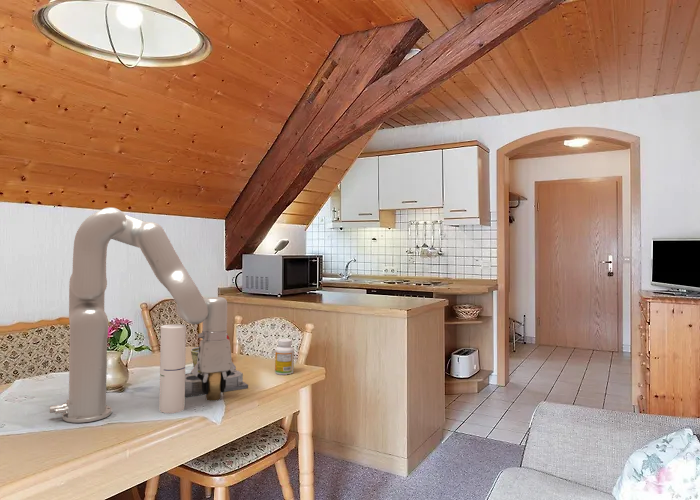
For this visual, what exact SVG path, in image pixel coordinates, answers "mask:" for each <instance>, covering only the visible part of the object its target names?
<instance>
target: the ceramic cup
mask: <svg viewBox="0 0 700 500" xmlns="http://www.w3.org/2000/svg"><path fill="white" fill-rule="evenodd" d="M198 350H199V346H198V347H194V348H191V350H190V352H191V360H192V366H193V368H194V367H195V365H196V364H197V359H198ZM198 372H201V371H200V370H198Z"/></svg>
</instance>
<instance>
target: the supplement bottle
mask: <svg viewBox="0 0 700 500" xmlns="http://www.w3.org/2000/svg"><path fill="white" fill-rule="evenodd" d="M292 341H293V340H292V339H290V338H280V339H278V341H277V345H278V346H277V347H276V348H275V352H274V353H275V356H274V357H275V359H274V362H275V363H274V372H275V374H276V375H279V376H288V375H287V374H290V375H292V374H293V373H294V368H295V367H294V363H295V361H294V359H295V358H294V357H295V356H294V355H295V348H294V347H293V346H292V344H293V342H292ZM291 373H292V374H291Z"/></svg>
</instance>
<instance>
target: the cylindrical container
mask: <svg viewBox="0 0 700 500" xmlns="http://www.w3.org/2000/svg"><path fill="white" fill-rule="evenodd" d="M186 340H187V325H185V324H181V323H180V324H179V323H172V324H164V325H160V351H159V353H160V355H159V358H160V360H159V403H158V404H159V405H158V406H159V408H158V409H159V410H160V411H161V412H160V411H159V412H160V413H162V412H164V413H163V414H176V412H177V413H180V412H183V411H184V410H185V407H186V406H185V405H186V404H185V402H186V401H185V398H186V397H185V374H186V352H187V351H186V350H187V349H186V348H187V344H186V342H187V341H186ZM182 410H183V411H182Z"/></svg>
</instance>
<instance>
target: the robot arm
mask: <svg viewBox="0 0 700 500" xmlns="http://www.w3.org/2000/svg"><path fill="white" fill-rule="evenodd" d="M111 240H114V241H116V242H120V243H123V244H125V245H128V246H132V247H136V248H139V249H140V251H141V252H142V254H143V256H144V258H145V260H146V261H147V263H148V265H149V266H150V268H151V270H152V273H153V274H154V276H155V278H156V279H157V280H158V282H160V283H161V285H162V286H164V288H165V289H166V290H167V291H168V292H169V294H170V295H171V297H172V298H173V300H174V302H175V303H176V308H175V310H176V314H177V315H178V317H179V318H180V319H182V320H183V321H185V322H187V323H188V324H192V325H199V324H202V330H201V332H200V333H197V339H201V340H199V346H198V347H199V350H198V359H197V364H196V365H195V367H194V366H193V368H192V369H191V371H190V373H192V374H193V375H195V376H197V377H198V378H199V379H200V380H201V381H202V392H203V393H204V394H205V396H206V395H208V382H207V378H208V374H209V373H216V372H221V393H224V389H225V387H226V379H227V377H228V376H229V375H230V374H231V372H232V371H234V370H235V369H236V370H237V367H236V365H235V364H234V362H233V361H232V359H233V358H232V349H231V348H232V347H231V343H230V341H229V340H230V338H229V339H227V332H228V301H227V298H225V297H222V296H209V297H203V295H202V294H201V293H202V292H200V290H199V288H198V286H197V284H195V281H194V280H193V278H192V277H191V276H190V274H189V272H188V271H187V269H186V267H185V266H184V264H183V262H182V261H181V259H180V257H179V255H178V253H177V252H176V250H175V248H174V246H173V244H172V243H171V240H170V239H169V237H168V235H167V233H166V232H165V230H164V229H163V226H161V225H160V224H159V223H157V222H155V221H144V220H141V219H139V218H135V217H132V216H130V215H127V214H125V213H124V212H123V211H122V210H120V209H118V208H116V207H104V208H103V209H100V210H98V211H95V212H94V213H92V214H90V215H88V217H86V218H85V219H84V220H83V222H81V224H80V226H79V227H78V229H77V231H76V233H75V236H74V241H73V248H72V249H73V253H72V273H71V275H70V277H69V282H68V292H69V293H68V321H69V355H68V356H69V357H68V362H69V363H68V364H69V365H68V366H69V369H68V379H69V380H68V398H67V399H66V402H62V404H55V405H50V406H49V414H52V413H55V415H58V414H61V416H62V417H61V418H62V420H63V421H65V422H67V423H73V424H74V423H75V424H77V423H78V424H79V423H90V422H95V421H96V422H97V421H99V420H102V419H105V418H108V417H109V416H110V415H111V414H112V413H113V408H112V407H111V406H110V405H107V368H108V367H107V365H108V362H107V361H108V360H107V359H108V338H109V336H108V335H109V318H108V315H107V313H106V312H105V294H106V293H105V291H106V290H107V287H108V286H107V285H108V280H107V252H108V251H107V250H108V245H109V243H110V241H111ZM198 370H200V371H201V372H202V374H200V373H198Z"/></svg>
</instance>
